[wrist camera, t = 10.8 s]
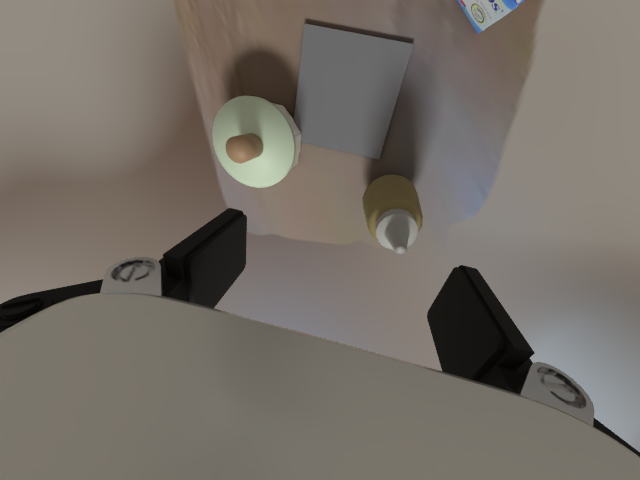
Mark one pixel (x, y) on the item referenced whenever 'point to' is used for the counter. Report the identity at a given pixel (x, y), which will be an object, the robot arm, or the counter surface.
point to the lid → (254, 141)
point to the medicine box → (486, 11)
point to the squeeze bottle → (393, 212)
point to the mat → (348, 89)
